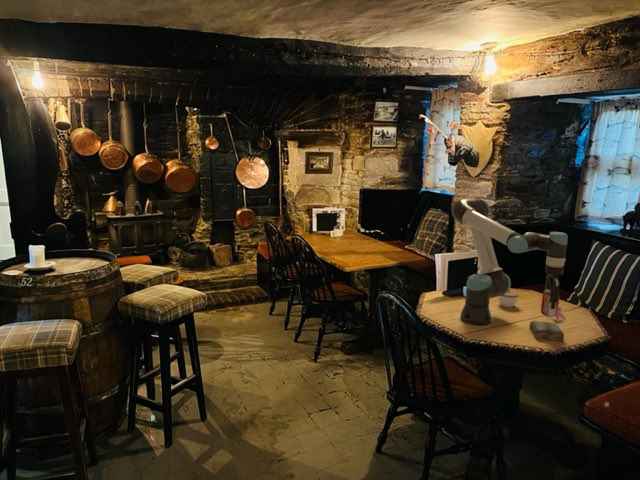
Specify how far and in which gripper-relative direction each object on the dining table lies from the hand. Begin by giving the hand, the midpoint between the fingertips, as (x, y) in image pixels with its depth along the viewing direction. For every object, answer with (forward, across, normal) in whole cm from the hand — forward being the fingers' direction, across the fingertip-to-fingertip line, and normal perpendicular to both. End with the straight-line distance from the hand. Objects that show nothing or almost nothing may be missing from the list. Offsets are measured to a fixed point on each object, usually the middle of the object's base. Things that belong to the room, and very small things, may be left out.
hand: (549, 311), depth 207 cm
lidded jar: (+12, +38, +11) cm, 41 cm away
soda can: (+2, 0, 0) cm, 2 cm away
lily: (+12, +23, -10) cm, 28 cm away
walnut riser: (+12, 0, 0) cm, 12 cm away
